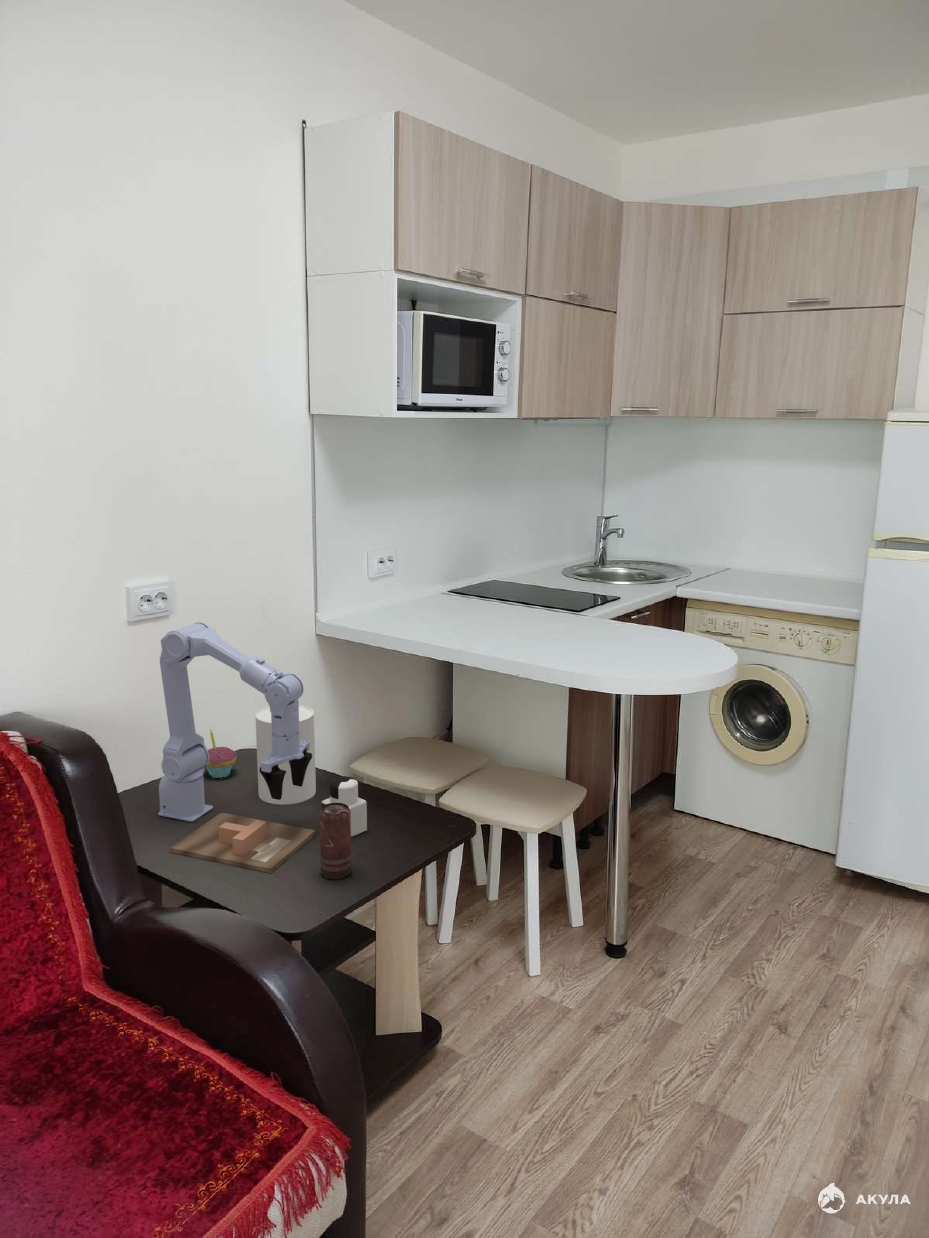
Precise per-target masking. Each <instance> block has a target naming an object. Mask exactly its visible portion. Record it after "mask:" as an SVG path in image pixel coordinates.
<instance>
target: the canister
mask: <svg viewBox="0 0 929 1238" xmlns="http://www.w3.org/2000/svg"><path fill="white" fill-rule="evenodd" d="M315 736H316V735H315V710H314V709H313V708H311V707H309V706H307V705H301V704H299V741H302V740H304V741H309V742H310V750H308V751H307V752H308V753H312V759H311V760H310V762H309V764H308V767H307V769H306V773H305V777H304V781H303V785H302V786H301V787H300V786H295V785H293V783H292V776H291V768H290V764H289V761H286V762H284V763H282V764H280V765H278V768H280V770H285V771H286V774H285V776H284V780H283V786H282V797H281V799H280V800H277V799H273V798H272V797H271V794H270V791H269V788H268V785H267V783H266V781H265V779H264V777H263V776H262V775H261V773H260V767H261V762H263V761H264V760H265V759H266V758H267V757H268V756H269V754H270V753H271V752H272V722H271V712H270V706H266V707H264V708H260V710H258V711H257V712H256V713H255V737H256V738H255V739H256V761H257V762H256V763H257V764H256V765H257V783H258V784H257V787H258V790H257V791H258V797H259V799H260V800H262V802H265V803H269V804H272V805H282V806H283V805H294V804H299V803H303V802H305V801H306V802H307V801H308V800H310V799H312V798H313V797H314V796H315V794H316V792H317V790H316V789H317V788H316V787H317V785H316V782H317V781H316V779H317V777H316V748H315V747H316V746H315V745H316V744H315V743H316V742H315V740H316V739H315Z"/></svg>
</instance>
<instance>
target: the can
mask: <svg viewBox="0 0 929 1238" xmlns="http://www.w3.org/2000/svg"><path fill="white" fill-rule="evenodd" d="M318 816H319V818H318V819H319V847H320V848H319V851H320V852H319V853H320V855H319V856H320V859H319V860H320V874H321V875H322V877H324V878H325V879H327V880H333V879H337V880H342V879H344V877H345V878H346V876H347V877H348V876H349V875H350V873H351V872H352V837H351V811H350V809H349V807H348V805H346V804H343V803H329V804H326V805H324V806H322V805H321V808H320V811H319V815H318Z"/></svg>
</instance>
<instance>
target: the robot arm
mask: <svg viewBox="0 0 929 1238" xmlns="http://www.w3.org/2000/svg"><path fill="white" fill-rule="evenodd" d="M160 645H161V652H160V656H159V667H160V674H161V681H162V687H163V688H162V689H163V694H164V700H165V701H164V702H165V709H166V716H167V725H168V731H169V738H168V740H167V742H166V743H165V744H164V747H163V748H162V756H163V757H162V761H161V770H162V773H163V776H162V777H161V779H160V780H159V785H158V796H159V797H158V798H159V812H158V813H157V815H158V816H160V817H166V818H170V819H171V818H172V819H176V820H179V821H181V820H182V821H185V822H190V823H192V822H195V821H197V819H199V818H201V817H202V816H203V815H205V814H206V813H208V812H210V811H211V810H213V808H214V806H213V805H211V804H206V801H205V800H206V799H205V786H204V784H205V782H204V773H205V772H206V771H205V768H206V765H207V764H208V762H209V752H208V750H209V749H208V748H207V746H206V745H205V739H204V737H203V736H202V735H200V734H198V733H197V732H196V726H195V717H194V711H193V701H192V695H191V688H190V681H189V680H190V679H189V673H188V672H189V671H188V665H189V664H190V663H191V662H192V660H194V659H195V658H197V657H202V656H210V657H212V658H214V660H215V659H216V660H217V661H219V662H221V663H223V664H225V665H226V666H228V667H230V668H231V669H234V670H236V671H237V672H238V673H239V676H240V680H241V681H243V682H244V683H246V684H247V685H248V686H251V688H254V689H255V690H256V691H258V692H260V693H261V694H263V695H264V698H265V700H266V702H267V704H268V707H270V712H271V722H272V752H271V753H270V754H269V756H268V757H267V758H266V759H265V760H264V761H263V762H261V767H260V773H261V775H262V776H263V777H264V779H265V781H266V783H267V785H268V788H269V791H270V794H271V797H272V798H273V799H277V800H280V799H281V797H282V786H283V780H284V776H285V774H286V771H285V770H280V768H278V765H280V764H282V763H284V762H286V761H289V764H290V768H291V776H292V783H293V785H295V786H300V787H301V786H302V785H303V781H304V777H305V773H306V769H307V767H308V764H309V762H310V760H311V759H312V753H308V752H307V751H308V750H310V742H309V741H304V740H302V741H299V705H300V703H299V702H300V701H299V700H300V698H301V697H302V695H303V694H304V685H303V682H302V680H301V679H300V678H299V676H297V675H296V674H295V673H291V672H290V673H289V672H288V673H284V672H283V671H281V670H280V669H279V670H278V669H276V668H275V667H273V666H272V665H270V664H268V663H267V662H266V659H264V658H263V657H257V656H254V657H250V658H249V657H247V655H245V654H243V653H242V652H241V651H239V650H238V649H236V648H235V647H234V646H233V645H232V644H230V643H229V642H227V641H226V640H225V639H224V638H222V637H221V636H219V635H218V633H217V630H216V629H215V628H213V627H210V626H209V625H208V624H207V623H205V622H203V621H198V622H194V623H193V624H189V625H187V626H184V627H182V628H179V629H174V630H170V631H168V632H167V633H166V634H165V635H164V636H163V637H162V638H161V639H160Z"/></svg>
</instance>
